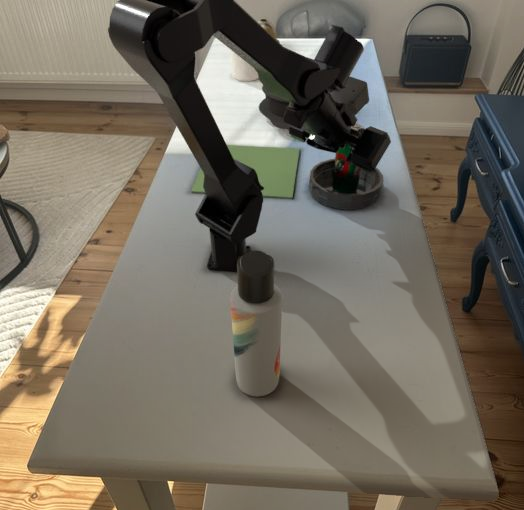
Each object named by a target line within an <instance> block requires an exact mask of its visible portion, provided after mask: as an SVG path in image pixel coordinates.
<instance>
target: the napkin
mask: <svg viewBox="0 0 524 510" xmlns="http://www.w3.org/2000/svg"><path fill="white" fill-rule="evenodd" d="M226 145H227V147H228V149H229V151H230V153H231V155H232V157H233V159H235V160H237V161H239V162H241V163H243V164H245V165H247V166H249V167H251V168H253V169H254V170H255V171H256V173H257V176H258V180H259V183H260V184H261V186H263V187H264V190H261V192H262V195H263V198H274V199H276V198H277V199H293V197H294V189H295V185H296V177H297V171H298V163H299V157H300V156H299V155H300V150H301V149H300V148H289V147H275V146H274V147H271V146H253V145H236V144H235V145H234V144H226ZM203 182H204V173H203V171H202V169H201V168H200V169H199V171H198V173H197V175H196V179H195V181H194V183H193V185H192V188H191V190H190V192H191V193H197V194H206V193H205V191H204V188H203Z"/></svg>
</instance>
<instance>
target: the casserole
mask: <svg viewBox="0 0 524 510" xmlns="http://www.w3.org/2000/svg"><path fill="white" fill-rule="evenodd" d="M261 90H262V92H263V93H264V95H265V98H264V99H262V100H261V102H260V103H258V104H259V105H258V111H259V112H260V114H262V115H263V116H264V117H265V118H267V119H268V120H269V122H270V123H271V124H272V126H274V127H276V128H278V129H283V130H288V131H289V124H286V123H284V122H283V117H284V114H285V112H286V107H287V106H289V104H290V101H288V100H285V99H283V98H280V97H278V96H275V95H273V94H270V93H269V92H268V90H267V89H266V88H265V87H264V85H263V84H262V87H261Z"/></svg>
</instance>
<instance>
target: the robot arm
mask: <svg viewBox="0 0 524 510" xmlns="http://www.w3.org/2000/svg"><path fill="white" fill-rule="evenodd" d="M258 22H259V21H257V20H256V19H255V18H253V16H252V15H251V14H249V12H248V11H246V10H245V8H243V7H242V6H241V5H240V4H239V3H237V1H236V0H118V1H117V2H116V3H115V4H114V6H113V8H112V9H111V13H110V15H109V25H108V28H107V32H108V37H109V39H110V42H111V44H112V46H113V48H114V49H115V50H116V51H117V53H118V54H119V55H120V56H121V57H122V58H123V60H124V61H125V62H126V64H128V65H129V66H130V68H131V69H132V70H133V71H134V72H135V73H136V74H137V75H138V76H139V77H140V78H142V80H143V81H145V82H146V83H147V84H148V85H149V86H150V87H151V88H152V89H153V90H154V91H155V92H156V93H157V95H158V97H159V98H160V100H161V102H162V103H163V105H164V107H165V108H166V110H167V112H168V114H169V116H170V117H171V120H172V121H173V123H174V124H175V126H176V128H177V129H178V131H179V133H180V135H181V136H182V138H183V140H184V142H185V143H186V145H187V147H188V149H189V150H190V152H191V154H192V155H193V158H194V159H195V161H196V163H197V164H198V166H199V168H200V169H202V171H203V173H204V182H203V188H204V191H205V193H204V196H203V197H202V199H201V202H200V204H199V205H198V207H197V210H196V211H195V214H194V215H195V217H196V219H197V221H198V223H199V224H201V225H204V226H205V227H207V228H208V229H209V230H208V231H209V240H210V249H211V251H210V254H209V258H208V261H207V264H206V268H207V270H214V271H226V272H229V271H230V272H237V260H238V258H239V257H241V256H243V255H244V254H245V253H247V252H250V251H252V247H251V246H250V245H247V238H250V236H253V235H254V234H256V232H257V229H258V226H259V221H260V217H261V213H262V209H263V203H264V197H263V195H262V192H261V190H264V187H263V186H261V184H260V183H259V180H258V176H257V173H256V171H255V170H254V169H253V168H251V167H249V166H247V165H245V164H243V163H241V162H239V161H237V160H235V159H233V157H232V155H231V153H230V151H229V149H228V147H227V145H228V144H227V143H226V141H225V139H224V136H223V134H222V132H221V130H220V128H219V126H218V124H217V122H216V120H215V118H214V115H213V113H212V111H211V109H210V107H209V105H208V103H207V101H206V98H205V97H204V95H203V93H202V90H201V88H200V86H199V84H198V82H197V80H196V77H195V70H196V52H198V51H200V50H202V49H203V48H205V47H206V45H207V44H208V42H209V41H210V40H211V38H212V37H214V38H215V39H217V40H218V41H219V42H220V43H222V44H223V45H224V46H225V47H227V48H228V49H229V50H230V51H231V50H232V51H233V52H234V53H236V54H237V55H238V56H239V57H241V58H242V59H243V60H244V61H246V62H247V63H248V64H249V65H251V66H252V67H253V68H254V69H255V70H256V72H257V73H258V77H259V78H258V80H259V82H260V83H261V84H262V86H263V85H264V87H265V88H266V89H267V90H268V92H269V93H270V94H273V95H275V96H278V97H280V98H283V99H285V100H288V101H290V104H289V106H287V107H286V112H285V114H284V117H283V122H284V123H286V124H289V130H288V134H289V135H290V136H291V138H293V139H295V140H296V141H299V142H302V143H306V145H308V146H309V147H312V148H314V149H317V150H320V151H324V152H329V153H333V154H336V152H337V150H338V149H339V148H341V149H345V148H346V146H347V144H350V148H351V149H352V150H351V152H350V154H349V156H348V157H347V159H346V162H348V163H350V164H353V165H355V166H358V167H360V168H362V169H365V170H367V171H369V172H371V171H373V170H375V168H377V166H378V165H379V163H380V162H381V160H382V158H383V156H384V155H385V153H386V152H387V150H388V148H389V146H390V144H391V143H392V140H391V137H390V135H389V133H388V132H387V131H385V130H382V129H379V128H376V127H374V126H371V125H370V126H368V127H365V129H363V128H361V129H359V130H358V131H356V130H354V129H351V126H353V127H354V126H355V124H357V123H358V118H357V117H356V115H357V114H359V113H360V111H361V110H362V109H363V108H364V107H365V106H366V105H368V103H369V102H370V95H369V87H368V86H369V85H368V82H367V81H365V80H362V79H359V78H356V77H353V76H351V74H352V73H353V71H354V69H355V67H356V65H357V64H358V62H359V60H360V58H361V57H362V54H363V53H364V52H365V48H364V45H363V44H362V42H361V41H359V40H357V38H355V37H354V36H353V35H351V34H350V33H348V32H347V31H346V30H345V28H344V27H343V26H340V25H336V24H331V25H330V27H329V29H328V31H327V33H326V36H325V39H324V40H323V42H322V44H321V46H320V47H319V49H318V51H317V53H316V55H315V57H314V58H310V57H308V56H305V55H302V54H300V53H298V52H296V51H294V50H292V49H289V48H287V47H285V46H283V44H281V43H279V42H280V41H279V42H278V41H277V40H278V39H277V38H276V39H277V40H276V39H275V38H274V37H273V36H272V35H270V34H269V33H268V32H267V31H266V30H265V29H264V28H263V27H262V26H261V25H260V24H259V23H258ZM356 136H357V137H358V138H357V137H356ZM345 143H346V144H345Z"/></svg>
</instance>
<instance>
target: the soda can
mask: <svg viewBox="0 0 524 510" xmlns="http://www.w3.org/2000/svg"><path fill="white" fill-rule="evenodd" d="M361 128H363V129H366V127H364V126H363V125H361V124H360V123H359V124H358V123H356V124H355V126H354V127H353V126H351V129H354V130H356V131H358V130H359V129H361ZM356 137H357V136H356ZM357 138H358V137H357ZM345 144H346V143H345ZM351 150H352V149H351V148H350V144H347V146H346V148H345V149H341V148H339V149H338V150H337V152H336V153H335V157H334V159H335V165H334V173H333V182H332V188H333V190H334V191H335V192H337V193H345V194H353V193H355V192H356V191H357V189H358V185H359V178H360V172H361V168H360V167H358V166H355V165H353V164H350V163H348V162H346V159H347V157H348V156H349V154H350V152H351Z"/></svg>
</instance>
